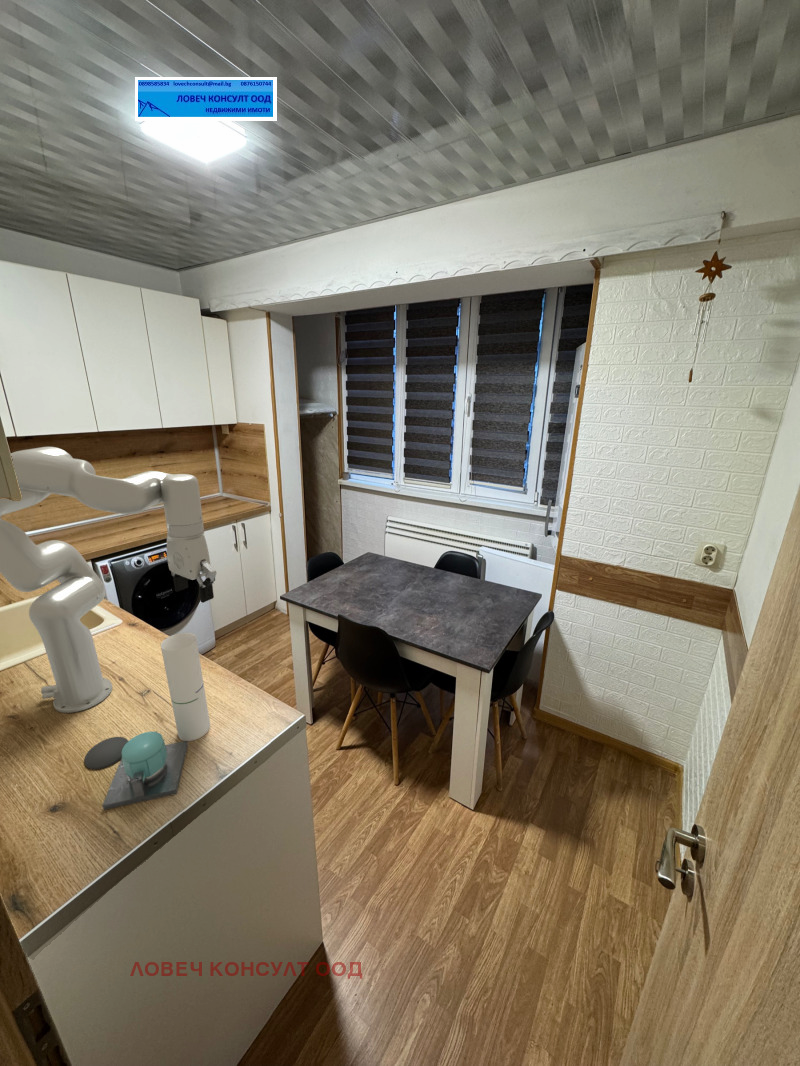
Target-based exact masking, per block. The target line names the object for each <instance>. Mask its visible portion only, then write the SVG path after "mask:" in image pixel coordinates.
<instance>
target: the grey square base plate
mask: <svg viewBox="0 0 800 1066" xmlns="http://www.w3.org/2000/svg"><path fill="white" fill-rule="evenodd" d="M155 732H158V731H155ZM188 742H189V741H184V740H182V741H179V742H174V743H169V744H165V747H166V751H167V758H166V761H165V765H164V766H163V767H162V768H161V769H160V770H158V771H157V772H156V773H154V774H153V775H152V776H150V777H146V778H145V779H144V782H143V780H142V779H143V776H144V771H141V772H136V773H134V776H133V778H131V777H129V776H128V775H127V774H126V773H125V769H124V765H123V761H122V758H121V760H119V764H118V766H117V768H116V771H115V774H114V777H113V779H112V781H111V783H110V784H109V785H110V786H109V788H108V791H107V793H106V795H105V798H104V801H103V802H102V809H103V810H104V811H105V810H110V809H114V808H118V807H124V806H129V805H132V804H137V803H141V802H146V801H151V800H156V799H160V798H165V797H168V796H174V795H177V794H178V789H179V784H180V781H181V780H180V779H181V776H182V774H183V773H182V772H183V769H184V765H185V759H186V755H187V752H188V747H189V743H188Z"/></svg>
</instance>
